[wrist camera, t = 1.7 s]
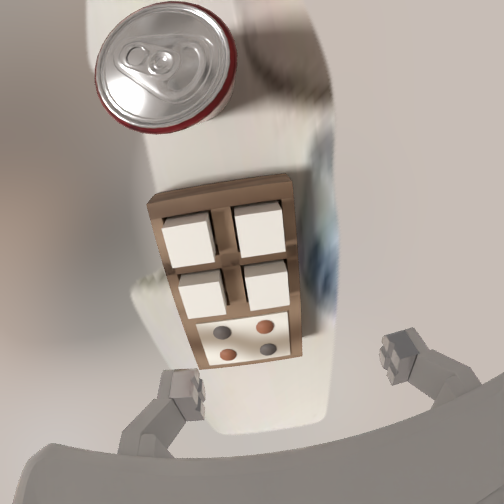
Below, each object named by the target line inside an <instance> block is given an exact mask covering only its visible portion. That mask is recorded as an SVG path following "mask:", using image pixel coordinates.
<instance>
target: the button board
mask: <svg viewBox="0 0 504 504" xmlns="http://www.w3.org/2000/svg"><path fill="white" fill-rule="evenodd" d="M274 200H277V201H278V203H279V205H280V207H281V209H282V218H283V228H284V239H285V250H286V252H279V253H272V254H266V255H259V256H252V257H245V258H241V252H240V246H239V240H238V234H237V228H236V221H235V212H234V206H239V205H246V204H253V203H260V202H267V201H274ZM147 209H148V212H149V217H150V220H151V224H152V228H153V231H154V235H155V239H156V242H157V246H158V249H159V253H160V256H161V259H162V263H163V266H164V269H165V273H166V276H167V279H168V282H169V285H170V288H171V292H172V295H173V298H174V301H175V304H176V307H177V310H178V313H179V315H180V318H181V321H182V324H183V327H184V330H185V332H186V335H187V338H188V341H189V343H190V346H191V349H192V351H193V354H194V357H195V359H196V362H197V364H198V367H199V369H200V370H202V369H213V368H223V367H232V366H240V365H248V364H256V363H263V362H270V361H276V360H282V359H289V358H294V357H300V356H302V326H301V301H300V281H299V264H298V248H297V233H296V220H295V207H294V195H293V184H292V180H291V179H290V178H289V177H288V175H287V174H286V173H284V174H276V175H268V176H260V177H253V178H246V179H239V180H233V181H226V182H220V183H214V184H208V185H202V186H196V187H190V188H185V189H179V190H174V191H169V192H164V193H159V194H155V195H154V196H153V197H152V198H151V199H150V201H149V202H148V203H147ZM202 211H209V216H210V221H211V226H212V232H213V236H214V241H215V246H216V253H215V262H212V263H205V264H198V265H191V266H184V267H178V268H172V265H171V261H170V258H169V254H168V251H167V247H166V243H165V240H164V236H163V232H162V227H163V225H164V223H165V221H166V219H167V217H172V216H178V215H184V214H190V213H196V212H202ZM279 259H283V260H284V263H285V266H286V269H287V274H288V287H289V300H290V305H287V306H281V307H274V308H268V309H261V310H254V311H250V305H249V299H248V293H247V287H246V282H245V274H244V265H245V264H252V263H259V262H266V261H272V260H279ZM218 268H220V271H221V275H222V280H223V285H224V289H225V294H226V298H227V304H226V314H225V315H217V316H209V317H201V318H192V319H188V317H187V313H186V310H185V307H184V304H183V301H182V298H181V295H180V292H179V288H178V286H179V282H180V278H181V274H183V273H190V272H197V271H204V270H211V269H218Z"/></svg>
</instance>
